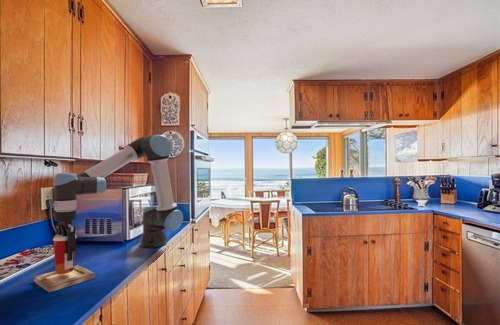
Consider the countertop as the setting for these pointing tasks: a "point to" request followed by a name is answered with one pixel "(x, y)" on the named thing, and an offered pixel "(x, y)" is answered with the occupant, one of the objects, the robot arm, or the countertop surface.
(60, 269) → the coffee cup
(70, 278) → the square tray
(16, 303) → the countertop surface
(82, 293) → the countertop surface
